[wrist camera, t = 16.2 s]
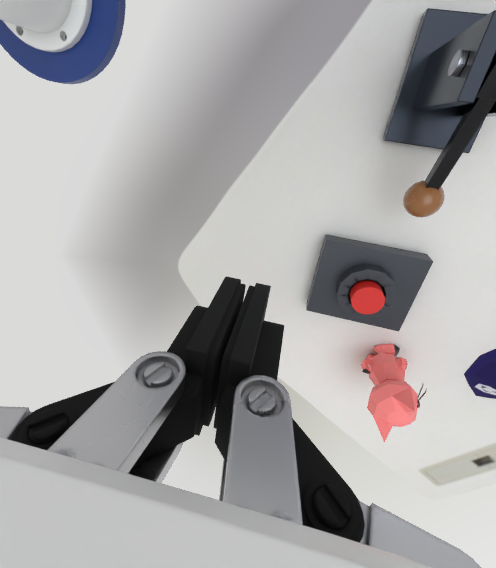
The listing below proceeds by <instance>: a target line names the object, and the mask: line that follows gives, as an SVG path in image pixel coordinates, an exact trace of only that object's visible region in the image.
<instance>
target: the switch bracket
mask: <svg viewBox="0 0 496 568" xmlns="http://www.w3.org/2000/svg"><path fill="white" fill-rule="evenodd" d="M495 53H496V10H494V11H493V12H491V13H490V14H479V13H469V12H459V11H449V10H439V9H429V8H428V9H427V10H426V11H425V12H424V14H423V16H422V19H421V22H420V25H419V29H418V32H417V35H416V38H415V41H414V44H413V47H412V50H411V53H410V56H409V59H408V63H407V66H406V69H405V72H404V75H403V78H402V81H401V84H400V87H399V90H398V93H397V97H396V100H395V103H394V106H393V109H392V112H391V115H390V118H389V121H388V124H387V127H386V131H385V134H384V137H383V140H386V141H393V142H399V143H406V144H412V145H419V146H425V147H432V148H438V149H444V147H445V146H446V144H447V142H448V141H449V139H450V137H451V135H452V134H453V132H454V130H455V129H456V127H457V125H458V123H459V122H460V120H461V118H462V117H463V115H464V113H465V111H466V110H467V108H468V106H469V105H470V104H471V103H474V101H475V98H476V96H477V94H478V91H479V89H480V87H481V85H482V82H483V80H484V78H485V75H486V73H487V71H488V69H489V66H490V64H491V62H492V59H493V57H494V55H495ZM487 116H496V102H495V103H494V105H493V106H492V108H491V109H490V111H489V113H488V114H487ZM484 120H485V119H484ZM484 120H483V122H484ZM483 122H482V123H481V125H480V127H479V128H478V130H477V131H476V133H475V134H474V136H473V137H472V139H471V141H470V142H469V144H468V145H467V147H466V148H465V150H464V151H463V152H464V153H469V152H470V150H471V148H472V145H473V143H474V141H475V139H476V137H477V135H478V132H479V130H480V128H481V126H482V124H483Z"/></svg>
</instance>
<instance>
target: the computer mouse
mask: <svg viewBox="0 0 496 568" xmlns="http://www.w3.org/2000/svg"><path fill="white" fill-rule="evenodd" d="M464 375H465V377H466V379H467V381H468V384H469V386H470V387H471V389H472V390H473V392H474V393H475V395H476V396H481V397H486V398H495V399H496V349H495V350H493V351H490V352H488V353H486V354H484V355H481V356H480V357H479V358H478V359H477V360H476V361H475V362H474V364H473V365H472V366H471V367H470V368H469V369H468V371H467V372H466V373H465V374H464Z"/></svg>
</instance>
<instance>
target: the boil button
mask: <svg viewBox="0 0 496 568" xmlns="http://www.w3.org/2000/svg"><path fill="white" fill-rule="evenodd" d="M350 299H351V304H352V307H353V308H354V309H355V310H356V311H357V312H359V313H361V314H373V313H376V312H378V311H379V310H380V309H381V308H382V307H383V306H384V303H385V296H384V294H383V291H382V289H381V287H380V286H379V285H378V284H377V283H376V282H373V281H369V280H365V281H360V282H358V283H356V284H355V285H354V286H353V287H352V289H351V291H350Z"/></svg>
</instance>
